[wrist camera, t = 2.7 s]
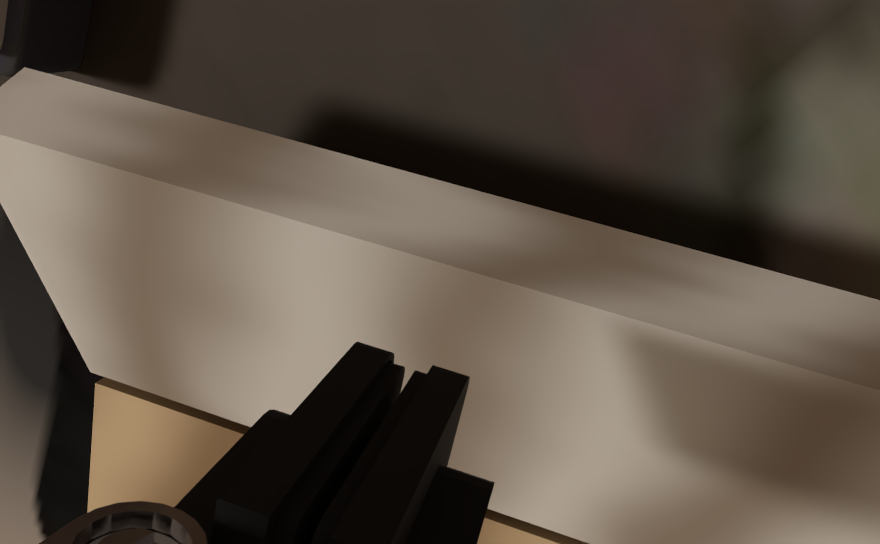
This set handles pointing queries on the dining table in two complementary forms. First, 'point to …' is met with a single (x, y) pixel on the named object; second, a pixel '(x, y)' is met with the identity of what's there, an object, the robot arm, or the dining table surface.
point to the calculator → (43, 35)
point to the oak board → (198, 457)
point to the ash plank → (452, 321)
